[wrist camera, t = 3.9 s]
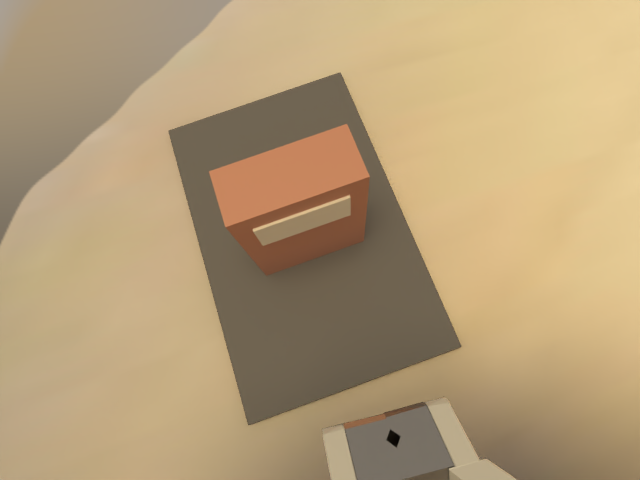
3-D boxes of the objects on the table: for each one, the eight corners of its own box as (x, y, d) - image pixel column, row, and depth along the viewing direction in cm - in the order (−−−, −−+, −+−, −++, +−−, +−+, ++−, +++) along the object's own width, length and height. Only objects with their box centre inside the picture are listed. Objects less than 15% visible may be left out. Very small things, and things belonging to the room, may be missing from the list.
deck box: (364, 242, 29) (370, 179, 20) (267, 277, 29) (226, 230, 20) (348, 202, 30) (347, 123, 21) (253, 235, 30) (208, 171, 21)
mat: (460, 346, 27) (461, 346, 27) (249, 424, 27) (248, 425, 27) (340, 75, 34) (340, 72, 34) (170, 133, 34) (168, 130, 33)
